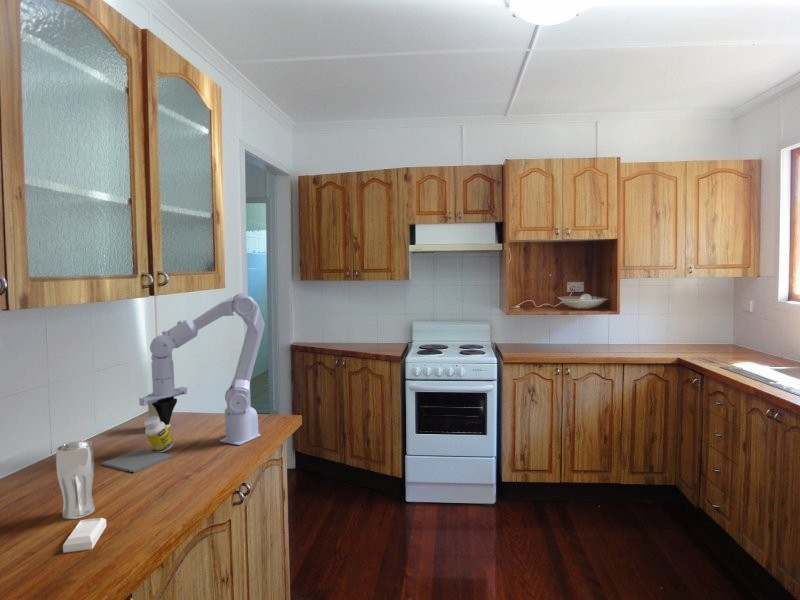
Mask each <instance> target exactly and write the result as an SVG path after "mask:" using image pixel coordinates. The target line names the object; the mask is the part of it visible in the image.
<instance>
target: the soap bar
mask: <svg viewBox="0 0 800 600" xmlns="http://www.w3.org/2000/svg"><path fill="white" fill-rule="evenodd" d="M106 527H107V519H106V518H103V517H98V518H88V519H81V520H80V521H79V522H78V523H77V525H76V527H74V529H73V530H72V532H71V533H70V535H68V537H67V539H66V540H65V542H64V543H63V545H62V551H63V554H64V553H71V552H72V553H73V552H79V551H87V550H88V551H89V550H93V548H94V547H95V545H96V544H97V542H98V541H99V539H100V537H101V536H102V534H103V533H104V531H105V529H106Z"/></svg>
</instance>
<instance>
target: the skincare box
mask: <svg viewBox="0 0 800 600" xmlns="http://www.w3.org/2000/svg"><path fill="white" fill-rule="evenodd" d="M150 394H152V392H150V393H148V394H147V396H148V395H150ZM147 406H148V407H147V411H148V418H149V417H151V416H158V417H159V415H158V413H157V411H156V409H155V408H154V406H153V405H152V403H151V404H147ZM159 419H160V418H159ZM166 427H167V429H169V428H170V427H171V423H170V424H168V425H166Z"/></svg>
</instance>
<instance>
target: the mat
mask: <svg viewBox="0 0 800 600" xmlns="http://www.w3.org/2000/svg"><path fill="white" fill-rule="evenodd" d="M169 458H170V459H172V458H173V455H172V454H168V453H164V452H156V451H155V450H152V449H146V448H143V447H141V448H138V449H135V450H133V451H130V452H127V453H124V454H121V455H118V456H117V457H113V458H111V459H108V460H104V461H103V462H101V465H102V466H105V467H108V468H112V469H116V470H120V471H123V470H124V472H127V471H129V472H128V473H131V472H133V473H132V474H135V473H137V471H138V472H140V471H143V470H146V469H147V467H148V468H150V467H153V466H155V465H157V464H160V463H162V462H164V460H165V461H167V460H170V459H169ZM161 461H162V462H161ZM159 462H160V463H159ZM154 464H155V465H154ZM152 465H153V466H152ZM142 469H143V470H142ZM139 470H140V471H139ZM134 472H135V473H134Z"/></svg>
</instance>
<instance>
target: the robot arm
mask: <svg viewBox="0 0 800 600" xmlns="http://www.w3.org/2000/svg"><path fill="white" fill-rule="evenodd" d="M234 313H235V314H236V315H238V316H239V317H240V319H242V321H243V322H244V323H245V325H246V332H245V335H244V339H243V343H242V347H241V351H240V353H239V357H238V362H237V366H236V369H235V373H234V377H233V378H232V380H231V384H230V386H229V388H228V389H227V390H226V391H225V394H224V399H225V402H226V408H225V409H224V421H225V422H224V424H225V426H224V427H225V437H223V438H220V439H219V442H220V443H226V444H231V445H236V446H241V445H243V444H245V443H247V442H250V441H251V440H254V439H256V438H258V437H260V436H261V435H262V434H261V433H259V417H258V416H259V415H258V413H257V410H256V409H255V408H254V407H252V406H250V399H249V393H250V387H251V386H250V384H251V379H252V375H253V372H254V367H255V363H256V360H257V358H258V357H257V356H258V354H259V353H258V352H259V349H260V345H261V341H262V338H263V334H264V332H265V330H264V329H265V325H266V324H265V320H264V318H263V314H262V312H261V309H260V306H259V304H258V303H257V301H256V300H254V298H253V297H251V296H250V295H248V294H246V293H238V294H236V295H234V296H233V297H229V298H227V299H224V300H223V301H222V302H220V303H217V304H216V305H215V306H213V307H212V308H210V309H208V310H207V311H205V312H204V313H203V314H200V315H199V316H198V317H196V318H194V319H193V320H189V319H184V320H183V321H182V320H179V321H177V322H176V325H175V326H173V327H171V328H170V329H167V331H166V330H163V331H162V332H161V334H162V335H157V336H155V337H154V338H153V339H152V340H151V343H150V345H149V346H150V347H149V349H150V352H151V365H150V366H151V381H152V382H151V383H152V391H151V393H152V394H150V393H149V394H150V395H148V394H147V395H145V396H143V397H141V398H138V401H139V406H142V407H146V406H148V404H151V403H152V405H153V406H154V408H155V409H156V411H157V413H158V415H159V418H160V421H162V422H164V423H165V425H168V424H170V425H171V419H172V416H173V415H172V414H173V411H174V409H175V407H176V405H177V403H178V398H175V397H178V396H184V395H188V387H185V386H181V387H175V373H174V371H175V370H174V369H175V367H174V360H173V350H174V349H179V348H181V347H183V345H185V344H187V343H188V342H190V341H192V340H193V339H195V338H196V337H197V336H198V333H199V330H201V329H203V328H205V327H206V326H208V325H210V324H211V323H213V322H215V321H217V320H219V319H220V318H222V317H231V316H235V315H234Z"/></svg>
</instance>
